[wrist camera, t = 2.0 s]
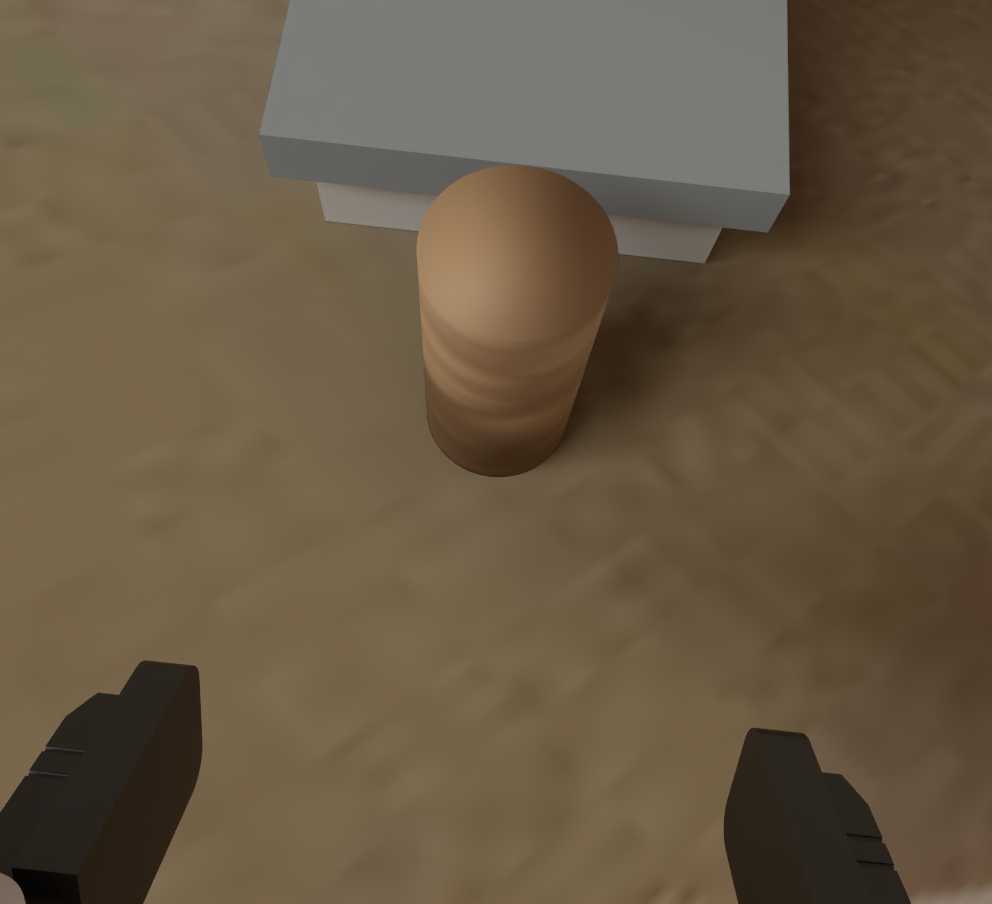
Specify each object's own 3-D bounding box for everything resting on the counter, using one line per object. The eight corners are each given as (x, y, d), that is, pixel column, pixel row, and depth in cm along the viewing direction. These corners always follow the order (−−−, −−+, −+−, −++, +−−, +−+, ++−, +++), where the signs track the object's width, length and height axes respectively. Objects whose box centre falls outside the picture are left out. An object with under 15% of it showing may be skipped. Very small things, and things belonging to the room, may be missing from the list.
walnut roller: (418, 468, 30) (403, 327, 20) (435, 339, 32) (430, 154, 22) (561, 484, 30) (612, 351, 21) (572, 355, 32) (623, 176, 22)
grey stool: (292, 245, 32) (258, 134, 27) (348, -26, 37) (329, -170, 31) (731, 295, 33) (789, 194, 27) (734, 19, 37) (785, -117, 31)
